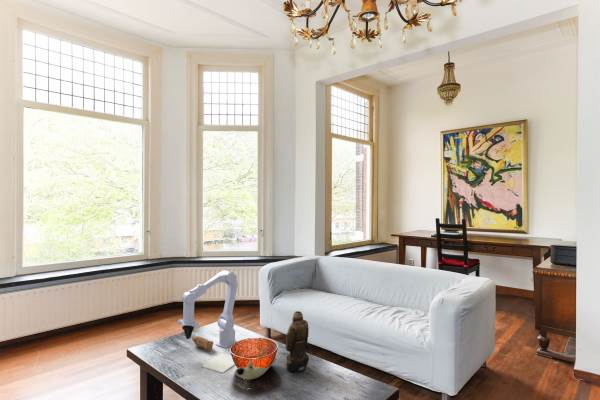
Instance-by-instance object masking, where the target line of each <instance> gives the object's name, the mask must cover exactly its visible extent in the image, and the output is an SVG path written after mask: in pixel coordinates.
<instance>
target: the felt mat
mask: <svg viewBox="0 0 600 400" xmlns="http://www.w3.org/2000/svg"><path fill="white" fill-rule="evenodd" d="M231 356H232V355H229V354H226V353H222V352H221V353H220V354H218V355H216V356H215V357H214V358H212V359H209V361H207V362H206V363H204V364H202V365H201V368H204V369H207V370H211V371H215V372H217V373H220V374H225V372H227V371H229V370H230V369H232V368H233V367H235V365H236V364H234V362H233V360H232V357H231Z"/></svg>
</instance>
